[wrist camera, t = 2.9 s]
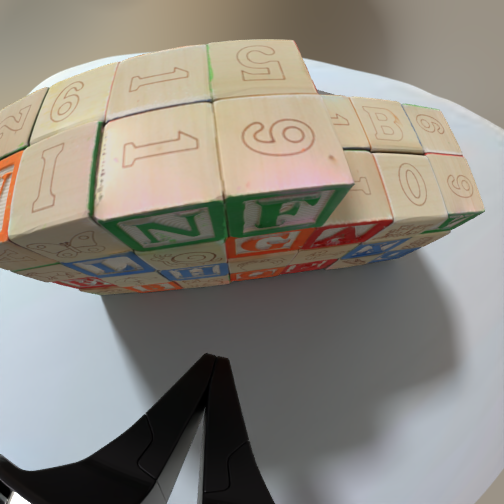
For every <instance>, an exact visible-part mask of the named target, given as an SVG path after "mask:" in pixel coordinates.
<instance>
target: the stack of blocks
mask: <svg viewBox="0 0 504 504" xmlns="http://www.w3.org/2000/svg"><path fill="white" fill-rule="evenodd" d="M483 212H485V209H484V205H483V202H482V199H481V197H480V194H479V191H478V188H477V186H476V183H475V180H474V178H473V175H472V173H471V170H470V168H469V165H468V163H467V160H466V159H465V158H464V157H463V155H462V151H461V149H460V147H459V145H458V143H457V141H456V139H455V137H454V135H453V133H452V131H451V129H450V127H449V125H448V123H447V121H446V119H445V118H444V116H443V114H442V112H441V111H440V110H438V109H433V108H427V107H422V106H416V105H410V104H400V103H399V102H397V101H389V100H382V99H373V98H363V97H346V96H341V95H319V94H318V92H317V89H316V87H315V85H314V83H313V81H312V79H311V77H310V75H309V72H308V70H307V67H306V65H305V63H304V61H303V59H302V56H301V54H300V51H299V49H298V47H297V45H296V43H295V41H293V40H272V39H270V40H269V39H268V40H267V39H264V40H237V41H224V42H215V43H209V44H207V45H192V46H183V47H178V48H173V49H167V50H162V51H157V52H153V53H147V54H143V55H139V56H135V57H132V58H128V59H126V60H124V61H122V62H115V63H111V64H107V65H104V66H101V67H98V68H95V69H92V70H89V71H87V72H84V73H81V74H78V75H76V76H73V77H70V78H68V79H65V80H63V81H60V82H58V83H56V84H54V85H52V86H51V87H50V88H49V87H45V88H42V89H40V90H38V91H36V92H34V93H32V94H30V95H28V96H26V97H24V98H22V99H20V100H18V101H16V102H14V103H12V104H10V105H9V106H7V107H5V108H3V109H2V110H1V111H0V268H2V269H6V270H10V271H11V272H13V273H16V274H20V275H23V276H26V277H30V278H33V279H36V280H40V281H44V282H53V283H57V284H59V285H64V286H68V287H72V288H76V289H79V290H80V291H82V292H87V293H92V294H98V295H108V294H120V293H132V292H139V293H146V292H157V291H166V290H176V289H183V288H198V287H206V286H215V285H223V284H230V283H231V282H232V281H242V280H248V279H257V278H264V277H272V276H278V275H280V274H288V273H296V272H303V271H310V270H317V269H322V268H324V269H325V270H330V269H337V268H344V267H351V266H357V265H363V264H366V263H372V262H379V261H385V260H390V259H396V258H400V257H402V256H404V255H406V254H408V253H411V252H413V251H414V250H417V249H419V248H421V247H423V246H426V245H428V244H430V243H432V242H434V241H436V240H438V239H440V238H442V237H444V236H446V235H448V234H449V233H450V232H451V230H452V229H455V228H456V227H458V226H460V225H462V224H464V223H465V222H467V221H469V220H471V219H473V218H475V217H476V216H478V215H480V214H482V213H483Z"/></svg>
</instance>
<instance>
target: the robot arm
mask: <svg viewBox="0 0 504 504" xmlns="http://www.w3.org/2000/svg"><path fill="white" fill-rule="evenodd" d="M205 407H206V408H205ZM204 411H205V415H204V424H203V435H202V446H201V458H200V471H199V484H198V499H197V504H275V503H274V501H273V499H272V497H271V495H270V493H269V491H268V489H267V487H266V484H265V482H264V480H263V478H262V476H261V474H260V471H259V469H258V466H257V464H256V461H255V458H254V455H253V452H252V448H251V445H250V441H248V440H249V438H248V434H247V430H246V427H245V423H244V419H243V415H242V411H241V407H240V403H239V399H238V395H237V391H236V387H235V382H234V378H233V374H232V370H231V365H230V361H229V359H228V358H225V357H220V356H218V357H216V356H215V355H212V354H208V353H205V354H204V355H203V356H202V357H201V358H200V359H199V360H198V361H197V362H196V363H195V364H194V365H193V366H192V367H191V368H190V369H189V370H188V371H187V372H186V373H185V374H184V375H183V376H182V377H181V378H180V379H179V380H178V381H177V382H176V383H175V384H174V385H173V386H172V387H171V388H170V389H169V390H168V391H167V392H166V393H165V394H164V395H163V396H162V397H161V398H160V399H159V400H158V401H157V402H156V403H155V404H154V405H153V406H152V407H151V408H150V409H149V410H148V411H147V412H146V415H145V414H144V415H143V416H142V417H141V418H140V419H139V420H138V421H137V422H136V423H135V424H133V425H132V426H131V427H130V428H129V429H128V430H126V431H125V432H124V433H123V434H121V435H120V436H119V437H117V438H116V439H114V440H113V441H112V442H110V443H109V444H107V445H106V446H104V447H103V448H101V449H100V450H98V451H97V452H95V453H94V454H92V455H91V456H89V457H87V458H85V459H83V460H81V461H78V462H75V463H71V464H67V465H62V466H58V467H53V468H47V469H42V470H36V471H26V470H22V469H20V468H19V467H17V466H16V465H15V464H13V463H12V462H11V461H9V460H8V459H7V458H5V457H4V456H3V455H1V454H0V504H167V501H168V499H169V497H170V494H171V492H172V490H173V487H174V485H175V482H176V480H177V478H178V475H179V473H180V470H181V468H182V465H183V463H184V461H185V458H186V456H187V453H188V451H189V448H190V446H191V443H192V441H193V438H194V436H195V434H196V431H197V429H198V426H199V424H200V421H201V419H202V416H203V413H204Z"/></svg>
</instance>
